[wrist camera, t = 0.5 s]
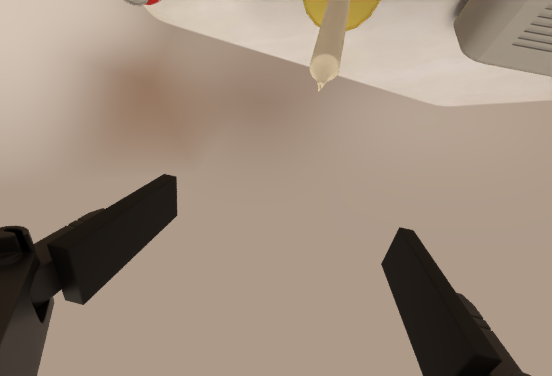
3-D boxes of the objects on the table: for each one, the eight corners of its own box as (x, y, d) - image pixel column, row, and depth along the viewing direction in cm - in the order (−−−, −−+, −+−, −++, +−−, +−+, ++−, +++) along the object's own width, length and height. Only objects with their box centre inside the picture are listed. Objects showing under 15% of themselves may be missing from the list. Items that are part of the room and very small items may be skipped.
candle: (366, 13, 33) (356, 156, 19) (300, -7, 33) (244, 123, 19) (413, -94, 24) (453, 31, 11) (323, -122, 24) (250, -31, 11)
